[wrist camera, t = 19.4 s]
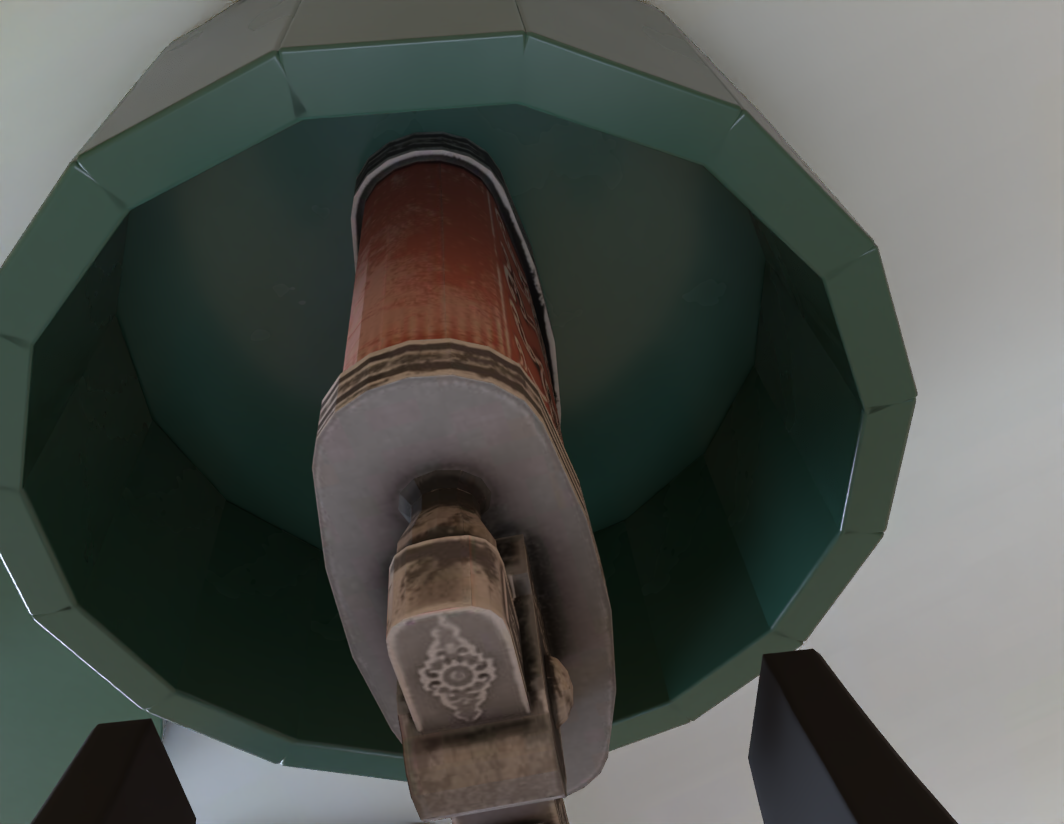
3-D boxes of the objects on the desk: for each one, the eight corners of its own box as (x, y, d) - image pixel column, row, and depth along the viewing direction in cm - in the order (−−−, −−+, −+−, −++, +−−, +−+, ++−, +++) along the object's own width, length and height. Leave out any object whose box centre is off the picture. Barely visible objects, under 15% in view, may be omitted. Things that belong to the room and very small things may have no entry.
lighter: (315, 151, 16) (201, 584, 8) (514, 113, 16) (606, 510, 8) (423, 506, 21) (422, 1005, 13) (577, 478, 21) (676, 961, 12)
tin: (759, 545, 23) (839, 740, 19) (189, 600, 22) (131, 817, 18) (839, -82, 15) (1013, -4, 11) (-40, -23, 14) (-249, 86, 10)
